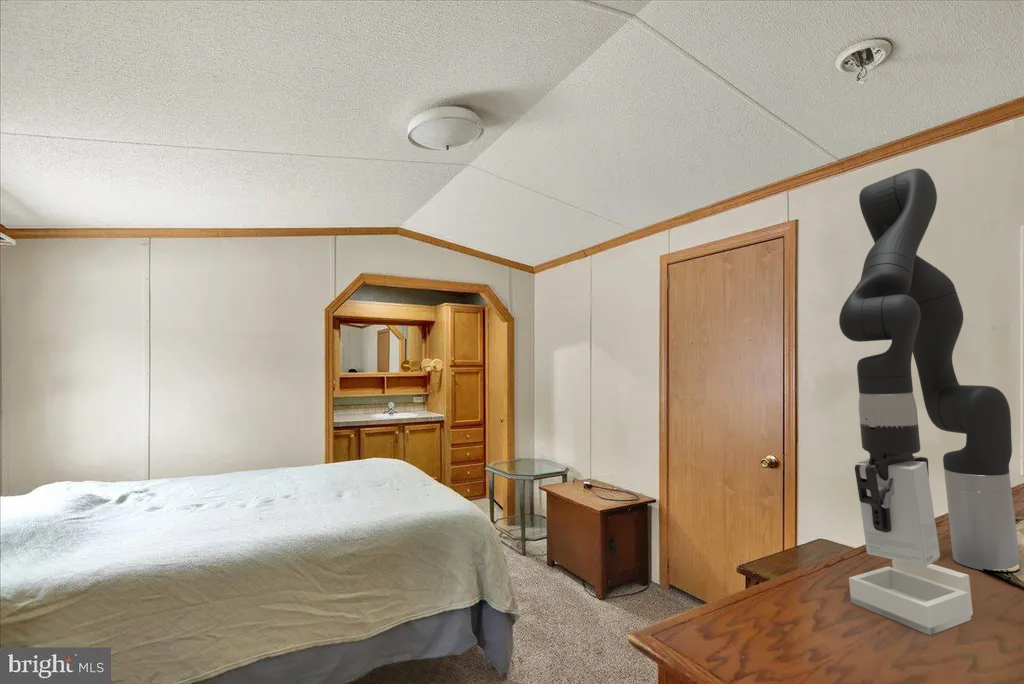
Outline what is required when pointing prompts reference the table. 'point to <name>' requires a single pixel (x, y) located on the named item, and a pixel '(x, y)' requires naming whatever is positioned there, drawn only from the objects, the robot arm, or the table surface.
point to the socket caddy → (910, 599)
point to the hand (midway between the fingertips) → (897, 527)
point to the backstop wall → (937, 576)
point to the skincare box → (904, 517)
